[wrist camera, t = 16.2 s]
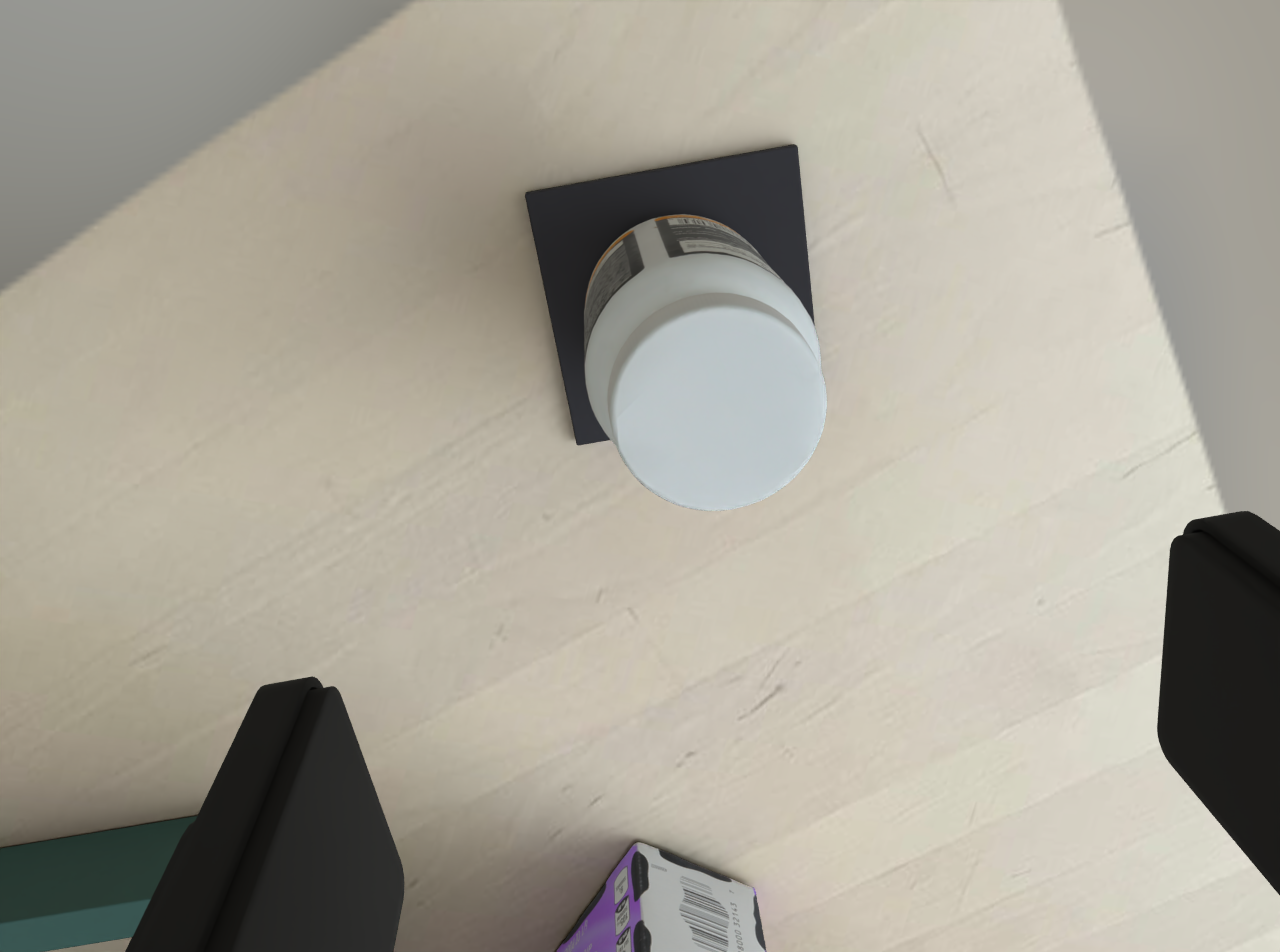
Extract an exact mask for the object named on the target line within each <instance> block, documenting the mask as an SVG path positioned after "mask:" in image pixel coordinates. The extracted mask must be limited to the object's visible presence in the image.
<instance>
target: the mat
mask: <svg viewBox="0 0 1280 952" xmlns="http://www.w3.org/2000/svg"><path fill="white" fill-rule="evenodd" d="M525 198H526V202H527V207H528V212H529V217H530V222H531V226H532V231H533V236H534V241H535V246H536V250H537V255H538V260H539V265H540V270H541V275H542V279H543V284H544V289H545V294H546V299H547V303H548V308H549V313H550V318H551V323H552V327H553V332H554V337H555V342H556V347H557V352H558V356H559V361H560V366H561V371H562V376H563V380H564V385H565V390H566V395H567V400H568V404H569V409H570V414H571V419H572V424H573V429H574V433H575V438H576V443H577V445H583V444H589V443H595V442H601V441H606V440H610V438H609V437H608V436H607V435H606V433H605V432H604V430H603V429H602V427H601V425H600V424H599V422H598V420H597V418H596V416H595V414H594V412H593V410H592V407H591V404H590V401H589V397H588V393H587V387H586V381H585V368H584V358H585V352H584V310H585V300H586V294H587V290H588V285H589V282H590V279H591V276H592V273H593V271H594V269H595V267H596V265H597V263H598V261H599V260H600V258H601V257H602V255H603V254H604V253H605V251H606V250H607V249H608V248H609V247H610V245H611V244H612V243H613V242H614V241H615V240H617V239H618V238H619V237H620V236H621V235H622V234H624V233H625V232H627V231H628V230H629V229H631V228H633V227H635V226H637V225H638V224H641V223H643V222H645V221H648V220H650V219H653V218H658V217H663V216H669V215H680V214H685V215H695V216H700V217H704V218H708V219H711V220H714V221H717V222H719V223H722V224H724V225H725V226H727V227H729V228H730V229H732V230H734V231H735V232H736V233H738V234H739V235H740V236H742V237H743V238H744V239H745V240H746V241H747V242H748V243H750V244H751V245H752V246H753V247H754V248H755V250H756V251H757V252H758V253H759V254H760V256H761V257H762V258H763V259H764V260H765V261H766V262H767V264H768V265H769V266H770V267H771V269H772V270H773V271H774V272H775V273H776V274H777V275H778V276H779V277H780V278H781V279H782V280H783V281H784V283H786V284H787V285H788V286H789V287H790V288H791V289H792V291H793V292H794V293H795V294H796V296H797V297H798V298H799V300H800V301H801V303H802V305H803V306H804V308H805V309H806V311H807V313H808V314H809V316H810V317H811V319H812V321H813V324H814V315H813V304H812V294H811V283H810V273H809V262H808V252H807V241H806V230H805V220H804V209H803V199H802V188H801V178H800V167H799V157H798V147H797V145H794V144H793V145H788V146H782V147H777V148H771V149H765V150H760V151H754V152H749V153H743V154H737V155H732V156H726V157H721V158H715V159H709V160H704V161H698V162H693V163H687V164H681V165H676V166H670V167H665V168H659V169H653V170H648V171H642V172H637V173H631V174H625V175H620V176H614V177H609V178H603V179H598V180H592V181H586V182H581V183H575V184H570V185H564V186H558V187H553V188H547V189H542V190H536V191H530V192H526V194H525ZM814 326H815V325H814Z"/></svg>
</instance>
